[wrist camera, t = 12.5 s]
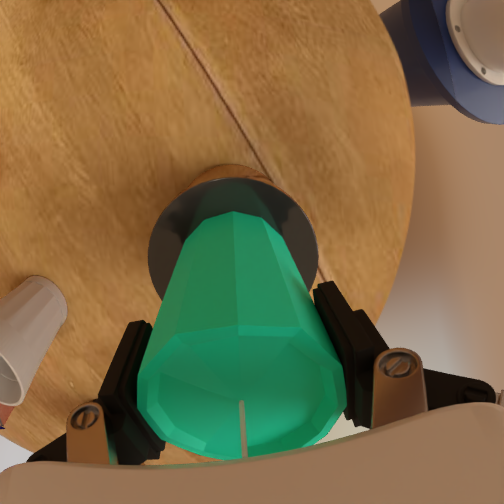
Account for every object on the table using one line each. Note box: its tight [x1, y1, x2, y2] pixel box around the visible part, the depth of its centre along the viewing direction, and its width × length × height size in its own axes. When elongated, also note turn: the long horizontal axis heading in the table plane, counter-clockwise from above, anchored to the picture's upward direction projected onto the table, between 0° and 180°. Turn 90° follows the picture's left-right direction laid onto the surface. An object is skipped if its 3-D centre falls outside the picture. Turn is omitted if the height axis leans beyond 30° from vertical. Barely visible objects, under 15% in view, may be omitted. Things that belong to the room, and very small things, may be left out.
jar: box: [148, 164, 319, 301], centre depth 23 cm, size 10×10×10 cm
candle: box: [137, 211, 347, 460], centre depth 12 cm, size 6×6×12 cm
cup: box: [0, 276, 68, 406], centre depth 23 cm, size 8×8×12 cm
